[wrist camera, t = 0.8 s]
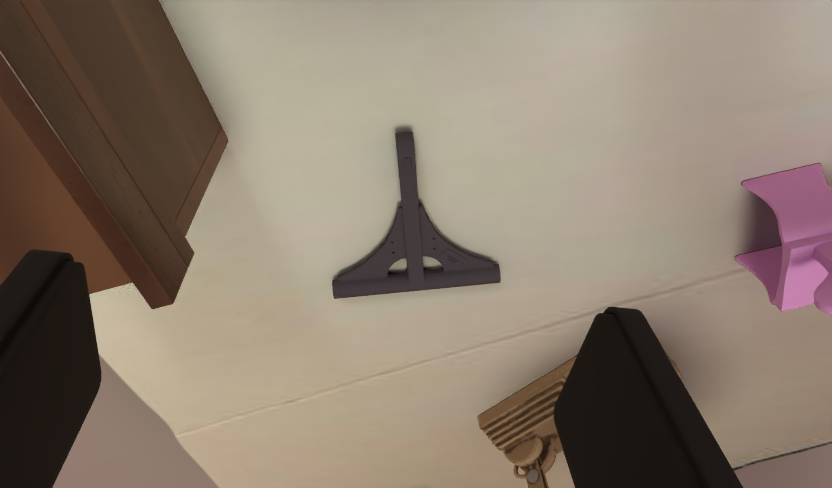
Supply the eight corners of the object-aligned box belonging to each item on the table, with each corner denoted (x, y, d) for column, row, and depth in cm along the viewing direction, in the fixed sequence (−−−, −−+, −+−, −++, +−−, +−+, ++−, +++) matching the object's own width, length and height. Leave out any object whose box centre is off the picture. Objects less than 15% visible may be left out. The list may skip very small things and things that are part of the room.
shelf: (80, 191, 46) (-58, 365, 31) (-156, -146, 33) (-583, -125, 18) (238, 146, 44) (173, 304, 30) (56, -223, 32) (-217, -269, 17)
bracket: (499, 118, 44) (506, 134, 42) (497, 275, 53) (502, 295, 51) (306, 135, 44) (303, 151, 42) (335, 289, 53) (333, 310, 50)
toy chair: (723, 266, 54) (827, 394, 42) (729, 184, 49) (849, 303, 37) (816, 245, 53) (950, 369, 41) (832, 159, 48) (990, 273, 36)
